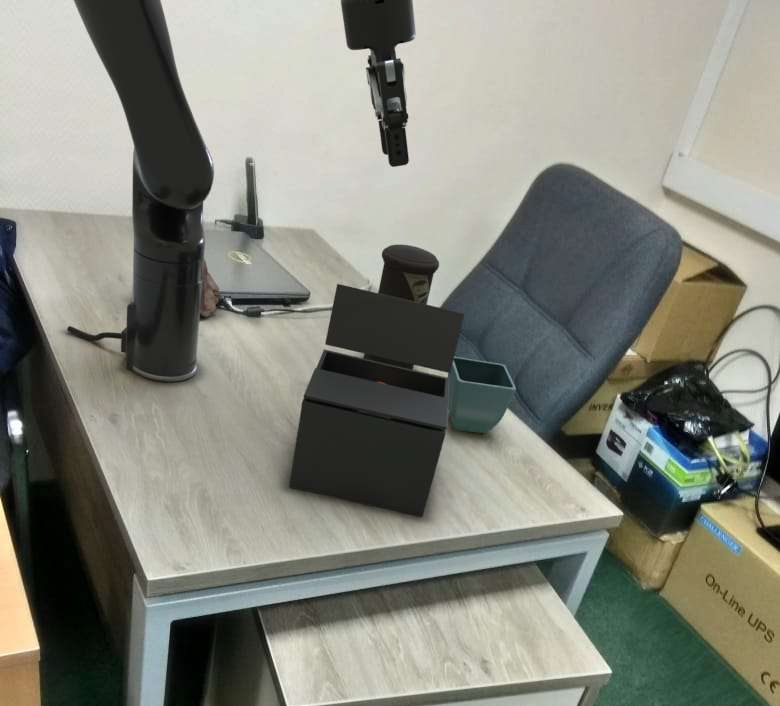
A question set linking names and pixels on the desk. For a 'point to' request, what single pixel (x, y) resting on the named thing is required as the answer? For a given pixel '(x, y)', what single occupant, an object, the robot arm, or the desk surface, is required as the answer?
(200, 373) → the desk surface
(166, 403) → the desk surface
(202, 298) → the mineral specimen
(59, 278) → the desk surface
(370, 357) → the container
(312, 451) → the carton
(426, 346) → the flap
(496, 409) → the flower pot
